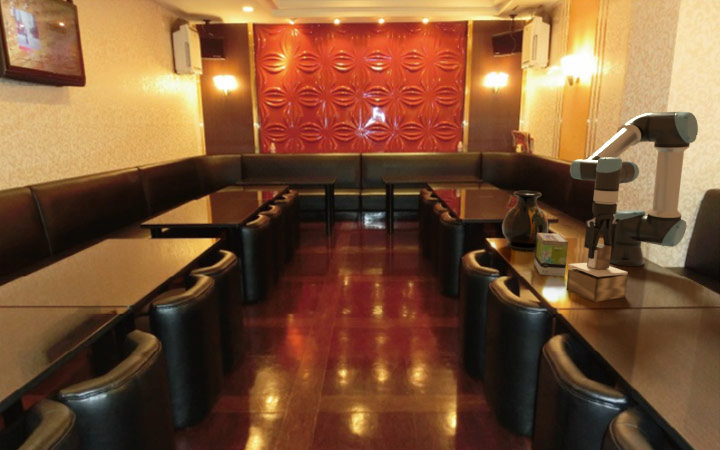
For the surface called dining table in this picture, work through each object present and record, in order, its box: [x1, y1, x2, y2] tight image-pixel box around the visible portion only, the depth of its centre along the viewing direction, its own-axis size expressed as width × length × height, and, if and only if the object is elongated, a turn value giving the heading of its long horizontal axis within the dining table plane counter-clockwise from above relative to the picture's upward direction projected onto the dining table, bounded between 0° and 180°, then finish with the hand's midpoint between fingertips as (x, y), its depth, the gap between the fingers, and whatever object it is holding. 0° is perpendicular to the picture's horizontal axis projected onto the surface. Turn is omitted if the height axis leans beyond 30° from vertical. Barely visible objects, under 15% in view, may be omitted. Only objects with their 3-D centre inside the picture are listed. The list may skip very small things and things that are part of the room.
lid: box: [567, 262, 628, 277], centre depth 163 cm, size 14×13×1 cm
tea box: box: [533, 232, 569, 277], centre depth 191 cm, size 15×10×15 cm
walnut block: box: [586, 242, 611, 270], centre depth 163 cm, size 5×5×8 cm
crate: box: [565, 268, 628, 303], centre depth 165 cm, size 14×13×8 cm
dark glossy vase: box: [501, 190, 549, 253], centre depth 224 cm, size 22×22×28 cm
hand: (597, 266), depth 163 cm, fingers closed on walnut block, 5 cm apart
